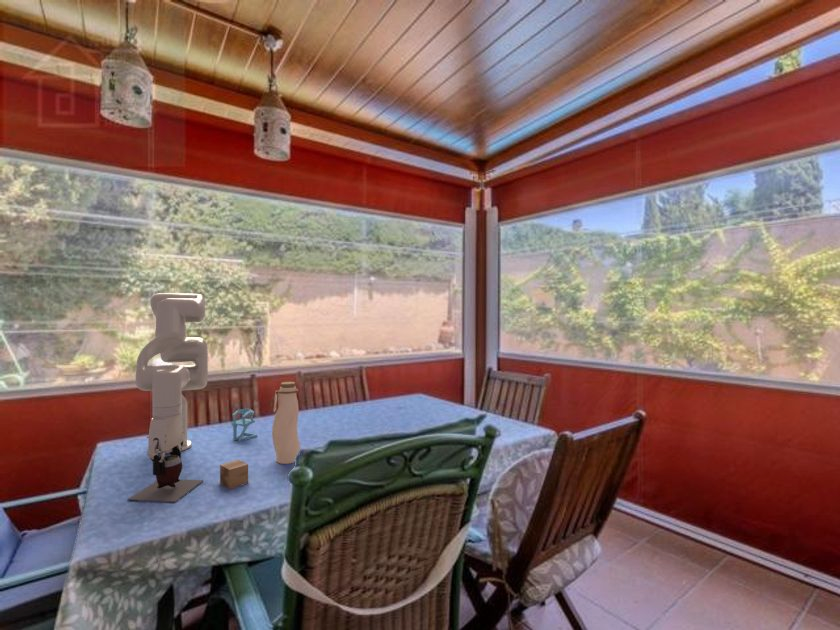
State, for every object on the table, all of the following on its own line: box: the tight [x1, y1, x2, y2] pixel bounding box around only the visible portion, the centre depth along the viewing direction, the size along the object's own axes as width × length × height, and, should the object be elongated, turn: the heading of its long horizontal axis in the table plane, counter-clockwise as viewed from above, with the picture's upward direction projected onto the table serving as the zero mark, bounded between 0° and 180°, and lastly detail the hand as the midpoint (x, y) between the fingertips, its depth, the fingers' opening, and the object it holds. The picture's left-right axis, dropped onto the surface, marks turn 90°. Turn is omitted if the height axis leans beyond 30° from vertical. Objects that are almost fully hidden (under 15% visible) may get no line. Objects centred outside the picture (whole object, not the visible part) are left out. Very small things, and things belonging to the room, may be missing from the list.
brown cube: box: [219, 459, 249, 490], centre depth 133 cm, size 6×6×6 cm
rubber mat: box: [127, 478, 204, 503], centre depth 127 cm, size 14×14×1 cm
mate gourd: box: [146, 435, 183, 488], centre depth 126 cm, size 8×8×15 cm
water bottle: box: [270, 381, 301, 465], centre depth 152 cm, size 10×9×28 cm
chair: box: [231, 407, 258, 442], centre depth 176 cm, size 8×8×12 cm
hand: (167, 469), depth 127 cm, fingers closed on mate gourd, 7 cm apart
